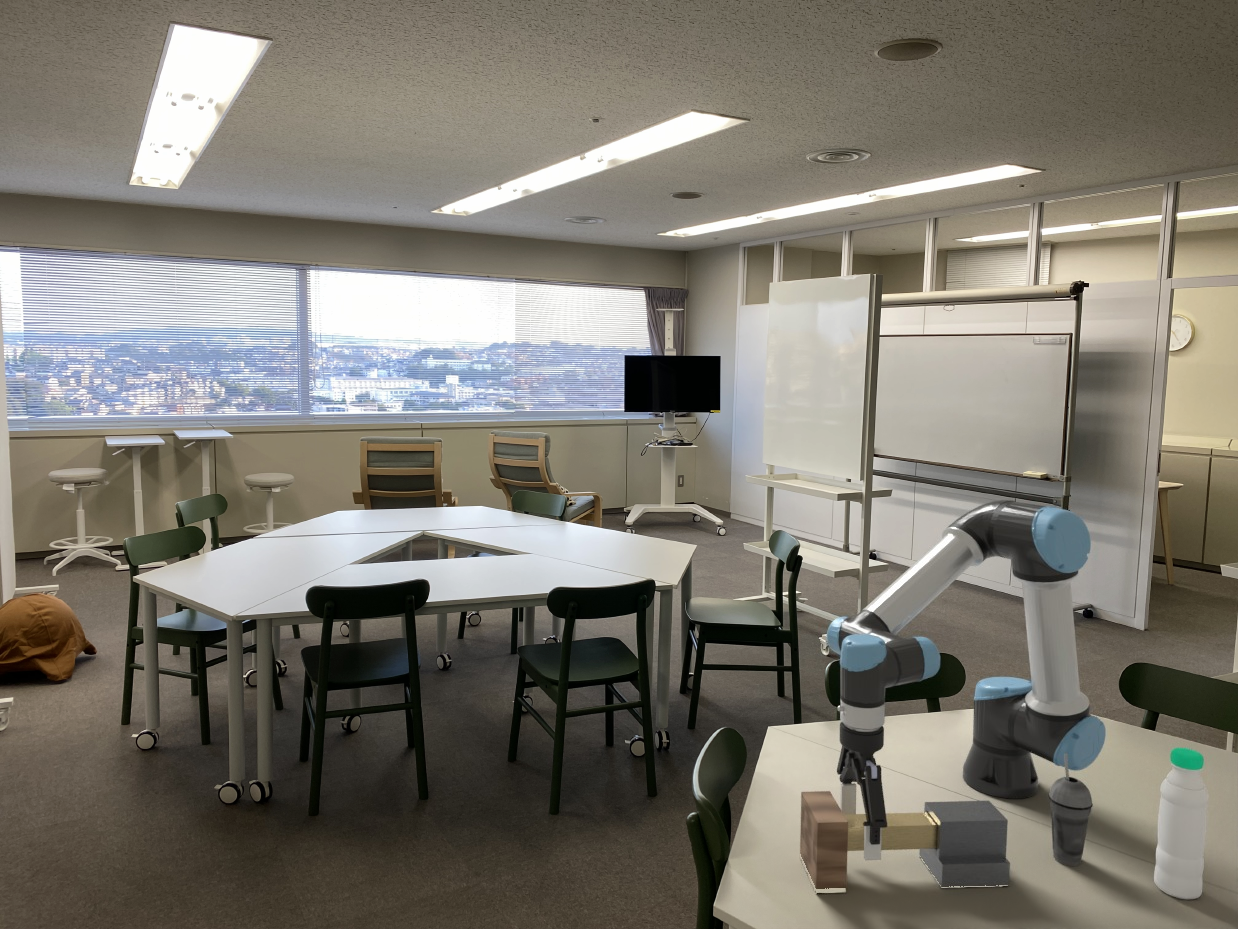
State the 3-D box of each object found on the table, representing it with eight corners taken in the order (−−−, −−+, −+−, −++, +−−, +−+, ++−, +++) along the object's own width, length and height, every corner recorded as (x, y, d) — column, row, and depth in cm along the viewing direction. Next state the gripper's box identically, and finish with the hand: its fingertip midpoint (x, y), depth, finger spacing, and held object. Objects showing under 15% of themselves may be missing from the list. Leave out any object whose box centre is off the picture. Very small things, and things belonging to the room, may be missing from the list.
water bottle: (1186, 906, 146) (1197, 764, 144) (1144, 884, 153) (1154, 748, 150) (1210, 894, 150) (1221, 755, 147) (1168, 873, 156) (1178, 740, 153)
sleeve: (919, 857, 161) (921, 798, 160) (982, 855, 162) (985, 796, 161) (941, 889, 151) (944, 826, 150) (1008, 887, 152) (1011, 824, 151)
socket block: (799, 858, 161) (801, 791, 159) (828, 858, 161) (829, 791, 160) (815, 894, 150) (817, 822, 148) (846, 893, 150) (848, 822, 149)
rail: (817, 838, 157) (818, 814, 157) (936, 835, 158) (937, 811, 158) (824, 852, 153) (825, 827, 152) (947, 848, 154) (948, 824, 153)
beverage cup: (1087, 875, 155) (1094, 768, 153) (1042, 862, 159) (1048, 758, 157) (1090, 855, 162) (1096, 753, 159) (1047, 844, 165) (1052, 744, 163)
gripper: (821, 697, 165) (819, 803, 167) (863, 755, 140) (861, 879, 143) (860, 696, 165) (858, 802, 168) (909, 754, 140) (906, 877, 143)
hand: (859, 837), depth 155 cm, fingers open, 13 cm apart
